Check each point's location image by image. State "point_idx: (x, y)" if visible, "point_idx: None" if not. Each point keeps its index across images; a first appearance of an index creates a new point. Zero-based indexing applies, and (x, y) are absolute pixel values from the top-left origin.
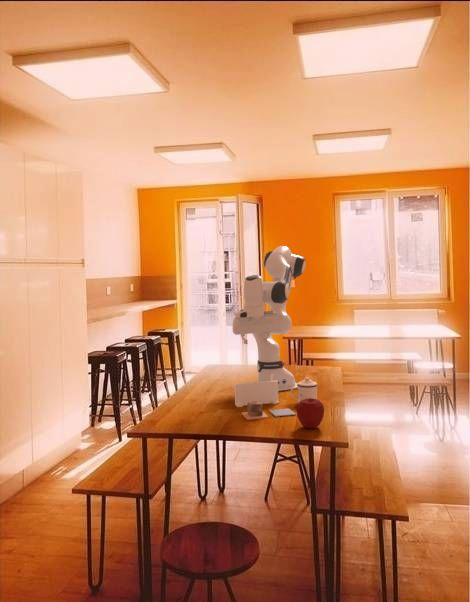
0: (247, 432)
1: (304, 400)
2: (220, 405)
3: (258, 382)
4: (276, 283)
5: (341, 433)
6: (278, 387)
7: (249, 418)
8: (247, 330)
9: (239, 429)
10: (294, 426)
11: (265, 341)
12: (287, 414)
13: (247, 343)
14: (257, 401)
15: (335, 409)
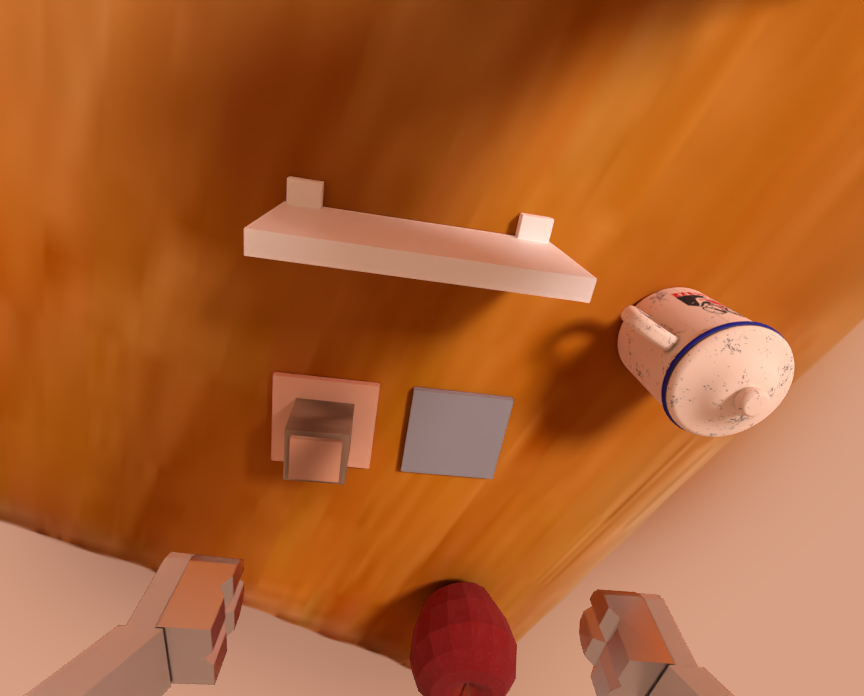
0: None
1: (450, 686)
2: (191, 155)
3: (437, 279)
4: None
5: None
6: None
7: (281, 460)
8: None
9: (209, 538)
10: (413, 569)
11: (591, 644)
12: (457, 473)
13: (240, 604)
14: (337, 447)
15: (684, 464)
